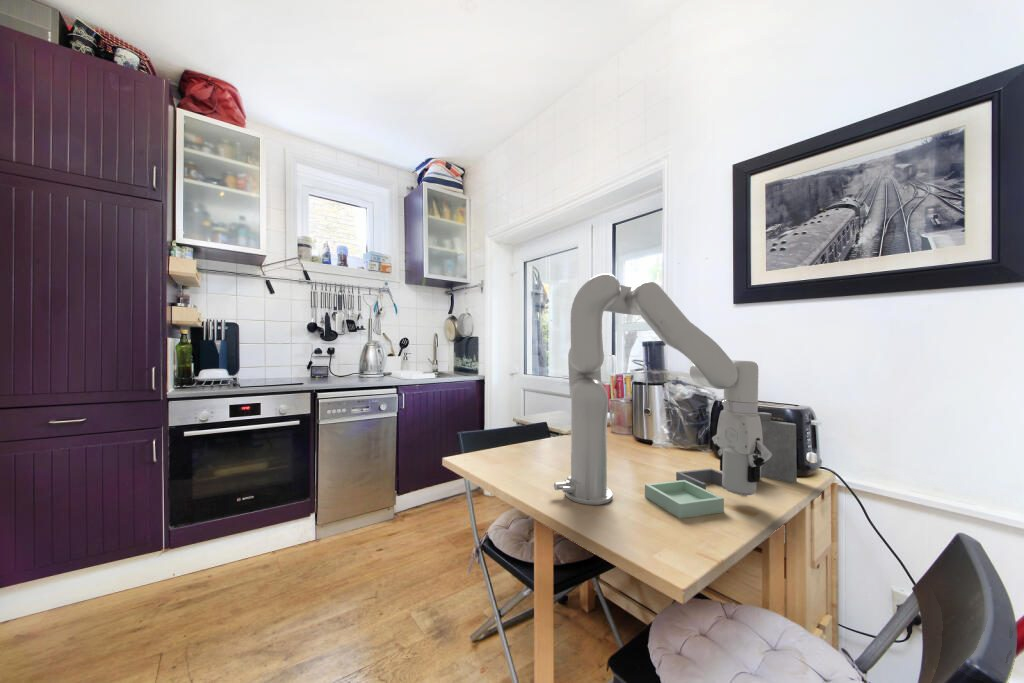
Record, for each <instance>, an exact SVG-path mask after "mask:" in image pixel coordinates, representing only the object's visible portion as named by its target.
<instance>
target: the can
mask: <svg viewBox="0 0 1024 683" xmlns="http://www.w3.org/2000/svg"><path fill="white" fill-rule="evenodd" d="M727 446H728V447H727V448H723V464H722V471H721V472H722V485H723V486H724V487H723V486H722V487H723V488H724V489H725V490H726V491H727V492H729V493H731V494H732V493H733V494H735V495H739V496H747V497H748V496H752V495H753V494H755V493H756V492H757V483H756V482H753V483H750V482H748V466H751V465H750V463H749V461H748V456H745V455H741V454H740V453H738V452H737V451H736V450H735V449H734V448H735V447H734V446H730V445H727ZM753 453H754V452H753ZM753 458H754V461H755V456H753Z"/></svg>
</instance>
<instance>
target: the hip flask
mask: <svg viewBox="0 0 1024 683" xmlns="http://www.w3.org/2000/svg"><path fill="white" fill-rule="evenodd" d="M758 416H760V421H761V426H762V436H763V445H764V446H765V447H766V448H767V449H768V450H769V451H770V452H771V453H772V456H771V457H770V458H769V460H767V462H766V463H765V464H763V466H761V477H763V478H768V479H771V480H777V481H780V480H781V482H785V483H791V484H792V483H793V484H796V483H798V481H797V470H798V468H797V424H796V423H793V422H784V421H777V420H776V421H775V420H772V418H771V417H772V413H770V412H759V411H758ZM761 455H762V454H760V455H759V456H760V457H761Z"/></svg>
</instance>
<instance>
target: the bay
mask: <svg viewBox="0 0 1024 683" xmlns="http://www.w3.org/2000/svg"><path fill="white" fill-rule="evenodd" d="M675 473H676V474H675V477H676V479H675V481H679V480H686V481H688V482H690V483H692V484H694V485H696V486H699V487H701V488H703V489H705V490H707V483H709V482H712V483H714V484H716V485H719V486H722V487H723V488H725V487H724V486H723V485H722V471H720V470H716V469H713V468H703V469H693V470H684V471H676V472H675Z"/></svg>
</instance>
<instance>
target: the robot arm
mask: <svg viewBox="0 0 1024 683" xmlns="http://www.w3.org/2000/svg"><path fill="white" fill-rule="evenodd" d="M570 309H571V310H570V348H569V350H568V356H567V357H568V358H567V362H568V366H567V367H568V386H569V396H570V399H571V403H570V404H571V415H570V416H571V417H570V476H567V477H566V478H567V479H566V480H564V481H563V482H562V481H558V482H554V484H553V489H554V490H555V491H562V492H563V493H565V496H566V498H568V499H569V500H570V501H574V502H575V503H579V504H582V505H589V506H591V505H594V506H595V505H596V506H598V505H599V506H600V505H604V504H607V503H610V502H611V501H612V500H613V498H614V497H613V496H614V494H613V492H612V490H611V489H610V488H608V487H607V482H608V479H607V477H608V474H607V472H608V470H607V468H608V466H607V465H608V457H607V456H608V450H607V449H608V445H607V444H608V439H607V438H608V435H607V433H608V414H609V395H608V392H607V389H606V387H605V385H603V383H602V370H601V369H602V368H601V367H602V366H603V364H604V360H605V353H604V352H605V351H604V344H603V315H604V312H607V313H615V314H621V315H631V316H641V318H642V319H643V321H645V322H646V324H647V325H648V326H649V327H650V328H651V330H652V331H653V332H654V334H655V335H656V336H657V338H659V339H660V341H661V342H663V343H664V344H665V345H667V346H669V347H671V348H672V349H674V350H676V351H678V352H680V353H681V354H682V355H684V356H685V357H686V358H687V359H688V360H689V361H690V362H691V363H692V364H691V366H690V367H689V376H690V378H691V379H692V381H694V383H696V384H697V385H699V386H703V387H707V388H711V389H716V390H723V400H722V401H721V405H722V406H723V409H722V410H720V413H719V417H718V420H717V421H718V422H717V426H716V427H717V428H716V434H715V435H713V436H712V437H711V440H712V441H713V444H714V447H715V449H716V450H717V454H718V456H719V472H722V464H723V448H727V447H728V446H727V445H730V446H734V447H735V448H734V449H735V450H736V451H737V452H738V453H740V454H741V455H745V456H748V461H749V463H750V465H751V466H748V482H750V483H753V482H757V483H760V481H761V480H760V466H763V464H765V463H766V462H767V460H769V458H770V457H771V456H772V453H771V452H770V451H769V450H768V449H767V448H766V447H765V446H764V445H763V436H762V426H761V421H760V416H759V415H758V412H759V411H758V409H759V407H758V406H759V365H758V363H757V362H755V361H752V360H751V361H750V360H737V359H736V360H732V359H731V358H730V356H729V355H728V354H727V353H726V352H725V351H724V350H723V348H722V347H721V346H720V344H718V343H717V342H716V341H715V340H714V339H713V338H711V337H710V336H709V335H708V334H706V333H705V332H704V331H703V330H701V329H700V328H699V327H698V326H696V325H695V324H694V323H692V322H691V321H690V320H689V318H688V317H687V316H686V315H685V314H684V313H683V312H682V311H681V309H680V308H679V307H678V306H677V305H676V304H675V302H674V301H673V300H672V298H670V296H669V295H668V294H667V293H666V292H665V291H664V290H663V288H662V287H661V286H660V285H659V284H658V283H656V282H654V281H650V280H649V281H648V280H647V281H642V282H639V283H638V284H636V285H635V286H633V285H622V284H621V283H620V281H619V279H618V278H617V277H616V276H615V275H614V274H611V273H605V272H604V273H600V274H597V275H595V276H593V277H591V278H590V279H589V280H587V281H586V282H585V283H583V285H581V287H580V288H579V289H578V291H577V293H576V294H575V297H574V298H573V302H572V304H571V308H570ZM753 452H754V453H753ZM760 454H762V455H761V457H760V456H759V455H760ZM753 456H755V461H754V458H753Z"/></svg>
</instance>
